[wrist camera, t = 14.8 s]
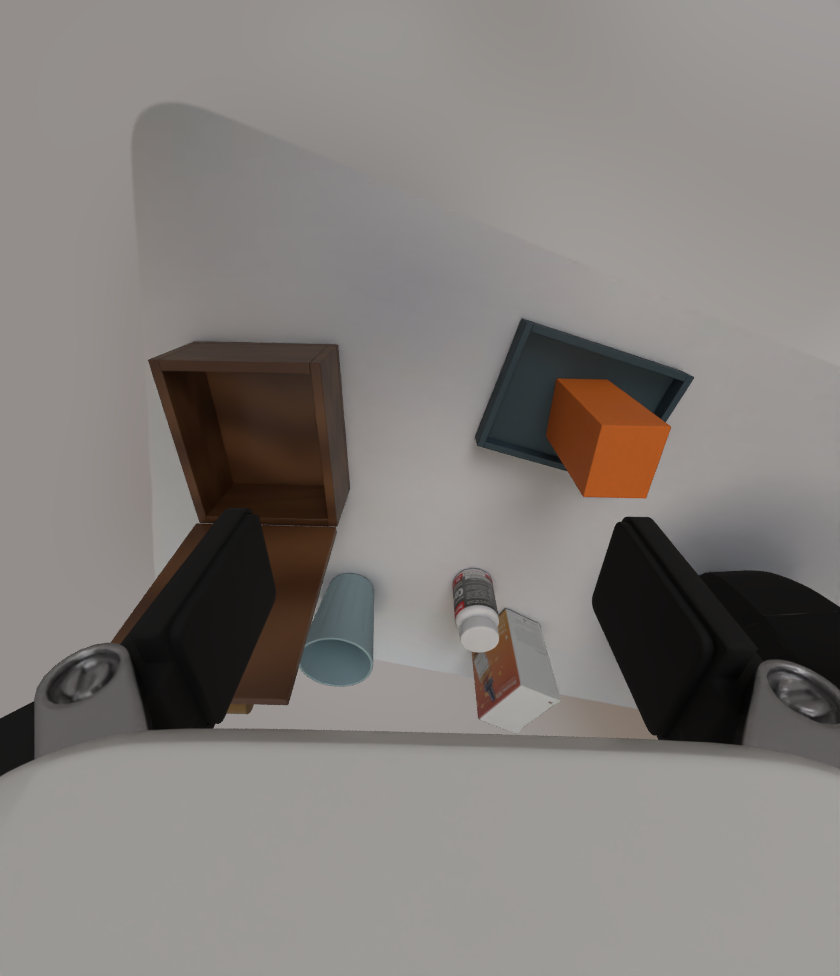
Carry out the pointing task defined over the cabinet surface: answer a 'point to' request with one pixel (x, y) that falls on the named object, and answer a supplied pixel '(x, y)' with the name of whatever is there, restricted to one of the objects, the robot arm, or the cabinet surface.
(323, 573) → the lid
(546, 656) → the small box
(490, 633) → the pill bottle
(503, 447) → the tray
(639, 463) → the block
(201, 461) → the chest
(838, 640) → the table lamp
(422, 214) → the cabinet surface
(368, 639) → the cup
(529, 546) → the cabinet surface
